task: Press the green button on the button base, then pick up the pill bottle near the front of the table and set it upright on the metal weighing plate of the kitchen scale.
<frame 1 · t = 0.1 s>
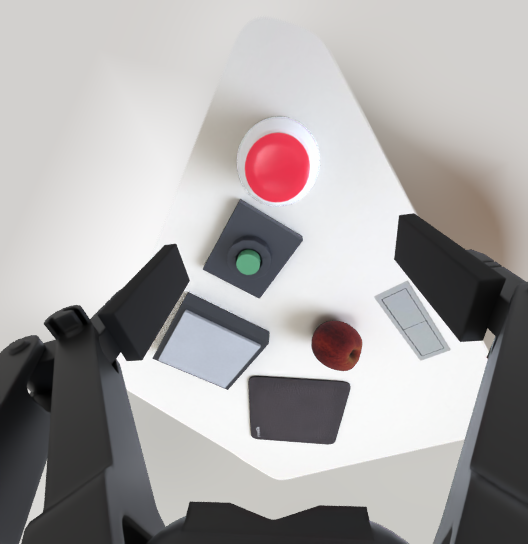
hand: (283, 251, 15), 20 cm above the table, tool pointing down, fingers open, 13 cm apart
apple: (331, 327, 44), on the table
mouse pad: (295, 412, 58), on the table
scale: (211, 339, 48), on the table
green button: (248, 262, 34), point 3 cm above the table, slide at 0.1 cm
pill bottle: (279, 155, 31), on the table
button base: (251, 251, 37), on the table
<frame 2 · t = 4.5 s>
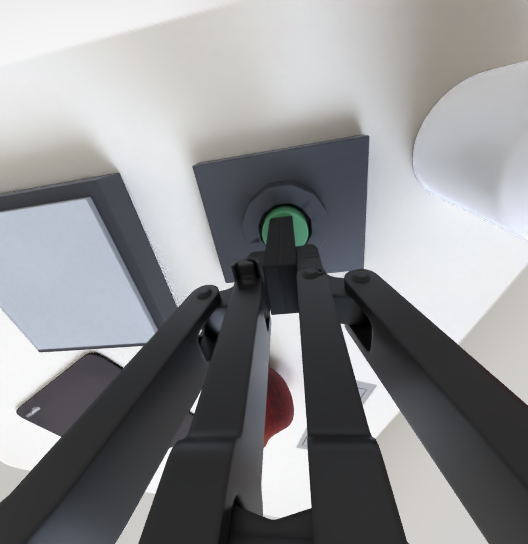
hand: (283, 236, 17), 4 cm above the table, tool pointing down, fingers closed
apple: (259, 371, 31), on the table
mouse pad: (112, 418, 39), on the table
scale: (83, 270, 25), on the table
green button: (285, 229, 18), point 3 cm above the table, slide at -0.3 cm, touching gripper
pill bottle: (472, 141, 17), on the table
button base: (285, 216, 20), on the table
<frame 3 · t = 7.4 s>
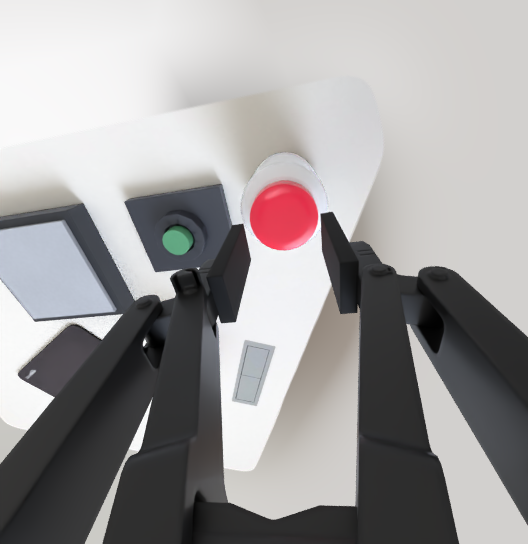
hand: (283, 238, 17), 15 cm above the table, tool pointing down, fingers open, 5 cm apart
mouse pad: (91, 379, 52), on the table
scale: (64, 264, 37), on the table
green button: (178, 240, 30), point 3 cm above the table, slide at 0.1 cm
pill bottle: (283, 188, 30), on the table
button base: (187, 229, 33), on the table
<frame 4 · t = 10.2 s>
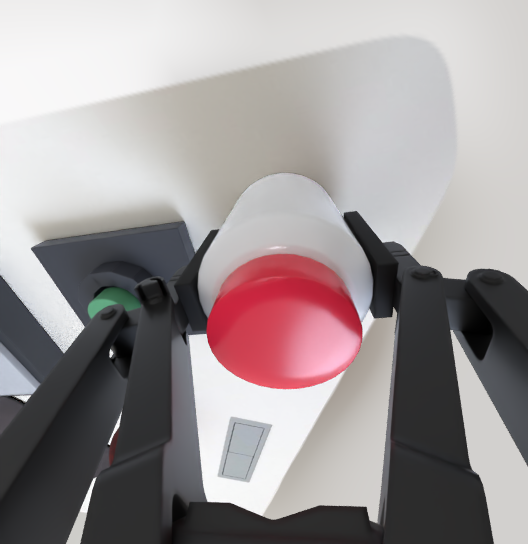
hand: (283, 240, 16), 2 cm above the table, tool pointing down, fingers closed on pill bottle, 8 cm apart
mouse pad: (38, 449, 41), on the table
green button: (115, 309, 19), point 3 cm above the table, slide at 0.1 cm
pill bottle: (283, 227, 18), on the table, touching gripper
button base: (138, 284, 22), on the table
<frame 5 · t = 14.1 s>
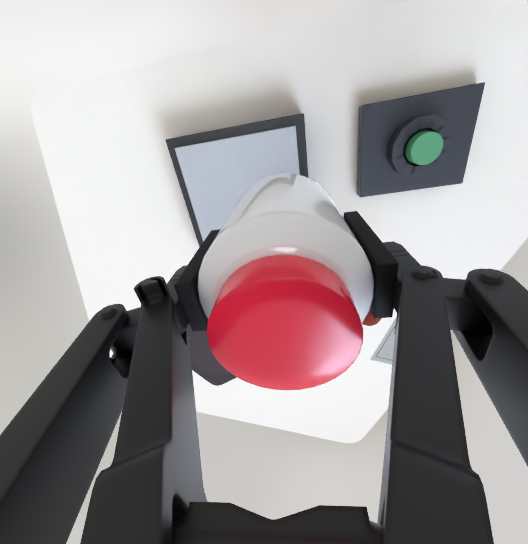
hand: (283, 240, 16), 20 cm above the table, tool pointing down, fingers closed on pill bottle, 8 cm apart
mouse pad: (222, 335, 49), on the table
scale: (248, 193, 34), on the table
green button: (423, 148, 27), point 3 cm above the table, slide at 0.1 cm
pill bottle: (283, 228, 18), point 17 cm above the table, touching gripper
button base: (410, 145, 30), on the table
when the fingers open (6 cm above the table, at t = 18.1 s): pill bottle stays where it is, resting on scale.
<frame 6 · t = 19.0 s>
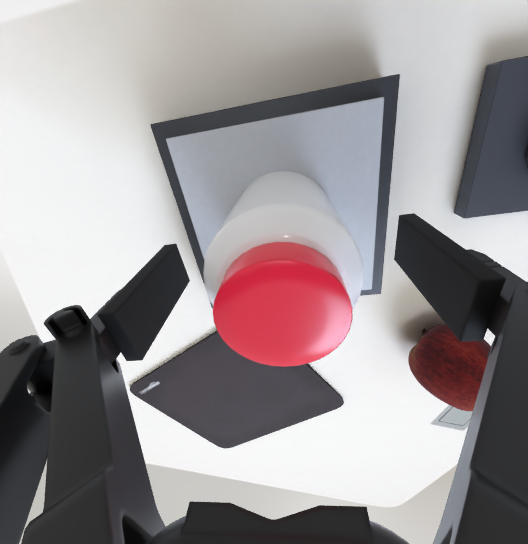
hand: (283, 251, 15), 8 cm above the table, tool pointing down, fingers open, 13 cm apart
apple: (430, 334, 29), on the table
mouse pad: (234, 394, 37), on the table
scale: (282, 210, 22), on the table
pill bottle: (282, 223, 19), point 3 cm above the table, touching scale
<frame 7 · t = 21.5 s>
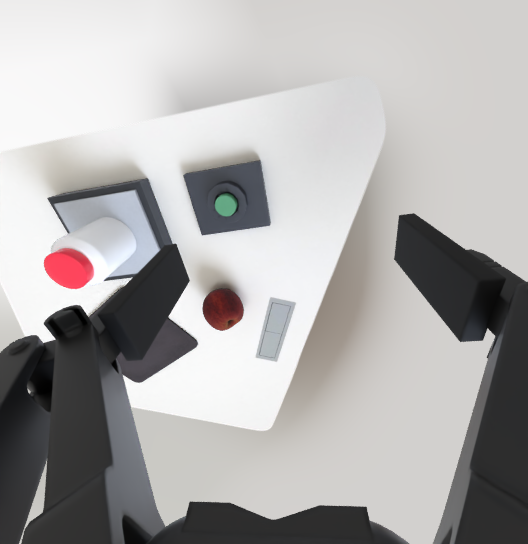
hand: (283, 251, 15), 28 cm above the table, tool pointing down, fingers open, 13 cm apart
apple: (226, 296, 52), on the table
mouse pad: (133, 340, 59), on the table
scale: (124, 231, 45), on the table
green button: (226, 204, 38), point 3 cm above the table, slide at 0.1 cm
pill bottle: (114, 238, 42), point 3 cm above the table, touching scale
button base: (230, 199, 41), on the table
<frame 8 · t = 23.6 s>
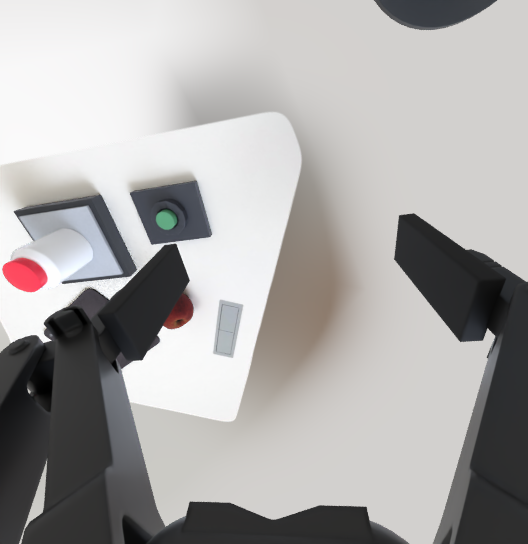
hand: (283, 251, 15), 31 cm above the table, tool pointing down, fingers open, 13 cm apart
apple: (180, 298, 57), on the table
mouse pad: (101, 336, 65), on the table
scale: (85, 240, 51), on the table
green button: (166, 219, 44), point 3 cm above the table, slide at 0.1 cm
pill bottle: (73, 246, 48), point 3 cm above the table, touching scale
button base: (174, 213, 47), on the table
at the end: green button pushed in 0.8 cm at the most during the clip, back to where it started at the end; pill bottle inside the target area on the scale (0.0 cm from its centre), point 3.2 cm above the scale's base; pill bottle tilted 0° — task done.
